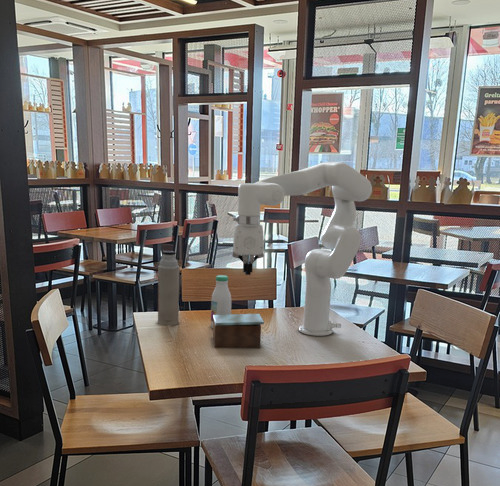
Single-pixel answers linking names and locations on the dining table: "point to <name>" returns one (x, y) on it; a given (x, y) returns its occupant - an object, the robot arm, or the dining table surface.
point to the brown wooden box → (236, 336)
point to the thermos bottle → (168, 290)
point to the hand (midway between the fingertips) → (247, 274)
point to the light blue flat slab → (238, 319)
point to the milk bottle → (220, 298)
